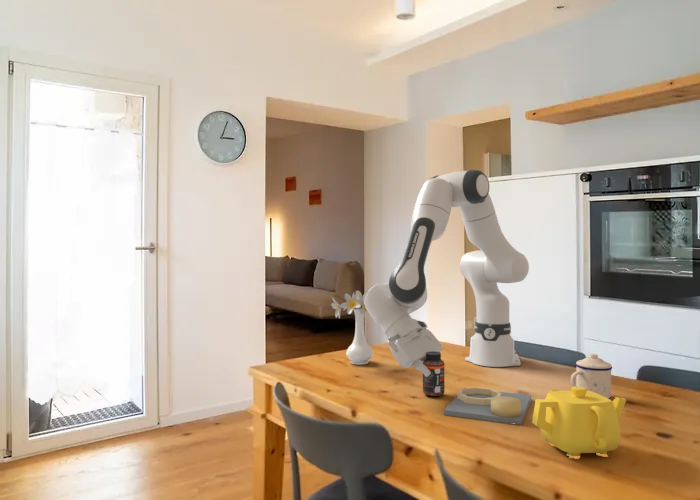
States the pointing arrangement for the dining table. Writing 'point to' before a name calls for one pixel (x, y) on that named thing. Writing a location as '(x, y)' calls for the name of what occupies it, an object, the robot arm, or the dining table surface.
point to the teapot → (579, 420)
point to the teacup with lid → (593, 375)
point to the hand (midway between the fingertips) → (435, 372)
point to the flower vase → (356, 328)
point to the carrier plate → (489, 405)
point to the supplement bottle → (434, 374)
